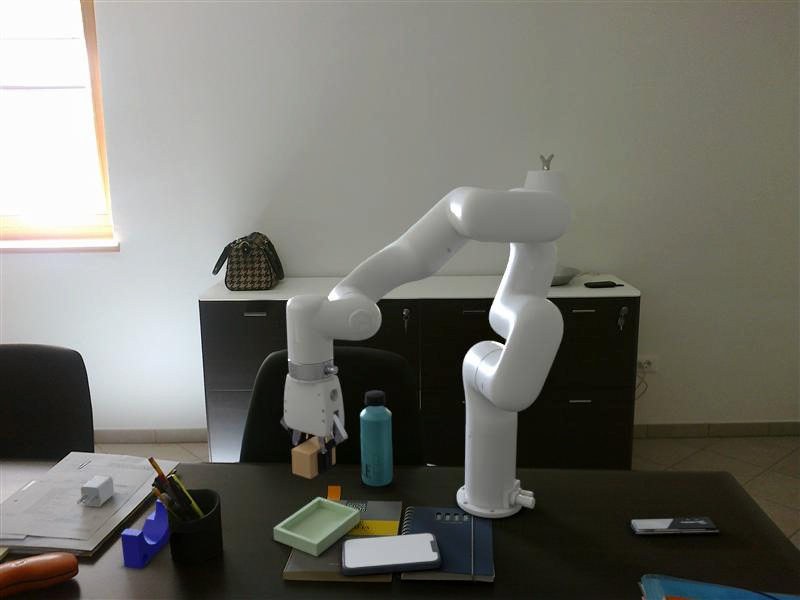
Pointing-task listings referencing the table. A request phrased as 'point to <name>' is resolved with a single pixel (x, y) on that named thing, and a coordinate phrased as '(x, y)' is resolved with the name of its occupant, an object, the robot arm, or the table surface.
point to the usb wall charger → (97, 491)
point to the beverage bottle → (376, 440)
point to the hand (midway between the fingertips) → (314, 466)
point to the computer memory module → (674, 526)
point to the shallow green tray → (317, 526)
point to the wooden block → (308, 458)
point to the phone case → (390, 554)
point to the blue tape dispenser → (145, 538)
